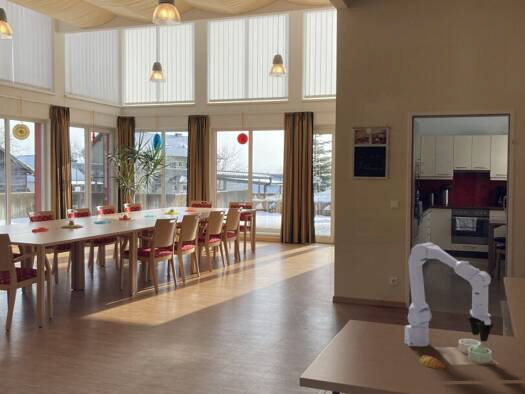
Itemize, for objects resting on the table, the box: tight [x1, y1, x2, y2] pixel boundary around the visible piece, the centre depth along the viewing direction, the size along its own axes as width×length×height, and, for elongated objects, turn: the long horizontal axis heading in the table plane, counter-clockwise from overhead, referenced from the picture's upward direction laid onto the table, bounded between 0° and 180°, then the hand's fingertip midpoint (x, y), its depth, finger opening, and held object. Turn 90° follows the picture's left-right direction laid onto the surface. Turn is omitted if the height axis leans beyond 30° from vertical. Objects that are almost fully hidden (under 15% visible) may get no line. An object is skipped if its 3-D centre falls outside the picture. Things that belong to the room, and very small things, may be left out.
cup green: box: [468, 347, 492, 363], centre depth 204 cm, size 8×8×4 cm
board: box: [433, 346, 499, 366], centre depth 208 cm, size 18×20×1 cm
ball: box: [473, 344, 487, 353], centre depth 204 cm, size 5×5×5 cm
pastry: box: [418, 354, 446, 370], centre depth 198 cm, size 9×7×4 cm
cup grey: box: [458, 338, 482, 354], centre depth 213 cm, size 8×8×4 cm
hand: (479, 337), depth 203 cm, fingers open, 7 cm apart
